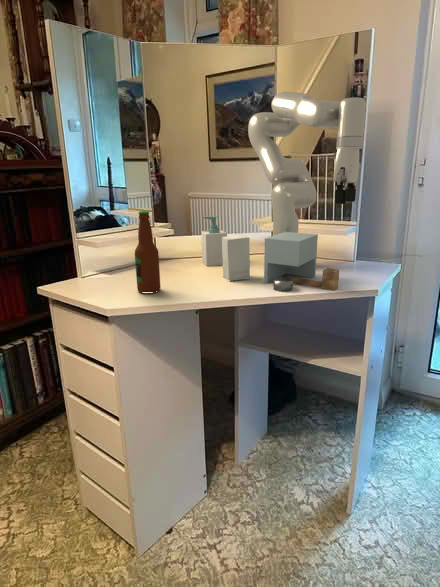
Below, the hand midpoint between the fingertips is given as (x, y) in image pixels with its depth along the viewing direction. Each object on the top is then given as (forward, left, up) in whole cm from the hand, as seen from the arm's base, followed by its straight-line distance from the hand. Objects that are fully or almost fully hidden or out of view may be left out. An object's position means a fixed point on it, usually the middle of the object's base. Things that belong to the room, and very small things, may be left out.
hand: (345, 202), depth 126 cm
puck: (-13, -14, -26) cm, 33 cm away
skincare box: (-33, -11, -26) cm, 44 cm away
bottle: (-49, -38, -26) cm, 67 cm away
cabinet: (-16, -3, -26) cm, 31 cm away
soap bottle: (-53, +5, -26) cm, 59 cm away
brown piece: (-9, -6, -26) cm, 28 cm away
